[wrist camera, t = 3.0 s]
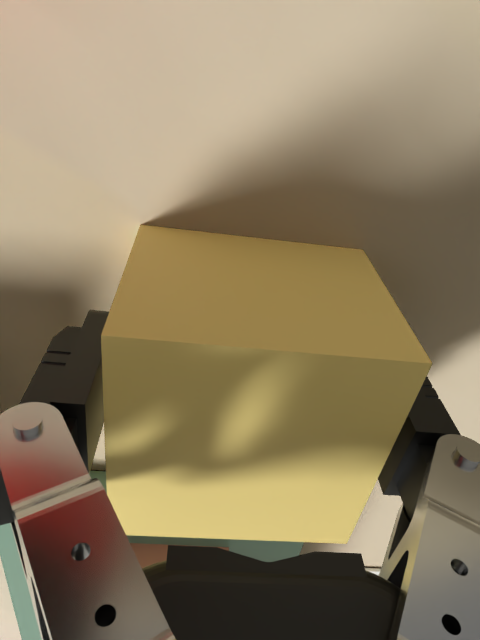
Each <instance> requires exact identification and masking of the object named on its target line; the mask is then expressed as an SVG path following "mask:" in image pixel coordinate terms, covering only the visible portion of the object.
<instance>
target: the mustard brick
mask: <svg viewBox="0 0 480 640" xmlns="http://www.w3.org/2000/svg"><path fill="white" fill-rule="evenodd" d="M101 350H102V377H103V405H104V432H105V459H106V486H107V496H108V498H109V500H110V502H111V504H112V506H113V509H114V511H115V513H116V515H117V517H118V519H119V521H120V523H121V526H122V528H123V530H124V532H125V534H126V535H132V536H158V537H185V538H211V539H237V540H263V541H289V542H315V543H341V544H347V542H348V540H349V538H350V536H351V533H352V531H353V529H354V527H355V525H356V523H357V521H358V519H359V517H360V515H361V512H362V510H363V508H364V506H365V504H366V502H367V500H368V498H369V496H370V494H371V492H372V489H373V487H374V485H375V483H376V481H377V479H378V477H379V475H380V473H381V471H382V468H383V466H384V464H385V462H386V460H387V458H388V456H389V454H390V452H391V450H392V447H393V445H394V443H395V441H396V439H397V437H398V435H399V433H400V431H401V429H402V426H403V424H404V422H405V420H406V418H407V416H408V414H409V412H410V410H411V408H412V405H413V403H414V401H415V399H416V397H417V395H418V393H419V391H420V389H421V387H422V385H423V382H424V380H425V378H426V376H427V374H428V372H429V370H430V368H431V366H432V362H431V360H430V359H429V357H428V356H427V354H426V352H425V351H424V349H423V347H422V346H421V344H420V342H419V341H418V339H417V337H416V336H415V334H414V333H413V331H412V329H411V328H410V326H409V324H408V323H407V321H406V319H405V318H404V316H403V315H402V313H401V311H400V310H399V308H398V306H397V305H396V303H395V301H394V300H393V298H392V296H391V295H390V293H389V292H388V290H387V288H386V287H385V285H384V283H383V282H382V280H381V278H380V277H379V275H378V273H377V272H376V270H375V269H374V267H373V265H372V264H371V262H370V260H369V259H368V257H367V255H366V254H365V252H364V251H363V250H361V249H352V248H343V247H334V246H325V245H316V244H308V243H299V242H290V241H281V240H272V239H263V238H254V237H245V236H237V235H228V234H219V233H210V232H201V231H192V230H183V229H174V228H166V227H157V226H148V225H140V228H139V230H138V233H137V236H136V239H135V242H134V244H133V247H132V250H131V253H130V256H129V258H128V261H127V264H126V267H125V270H124V272H123V275H122V278H121V281H120V284H119V286H118V289H117V292H116V295H115V298H114V300H113V303H112V306H111V309H110V312H109V314H108V317H107V320H106V323H105V326H104V328H103V331H102V334H101Z"/></svg>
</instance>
